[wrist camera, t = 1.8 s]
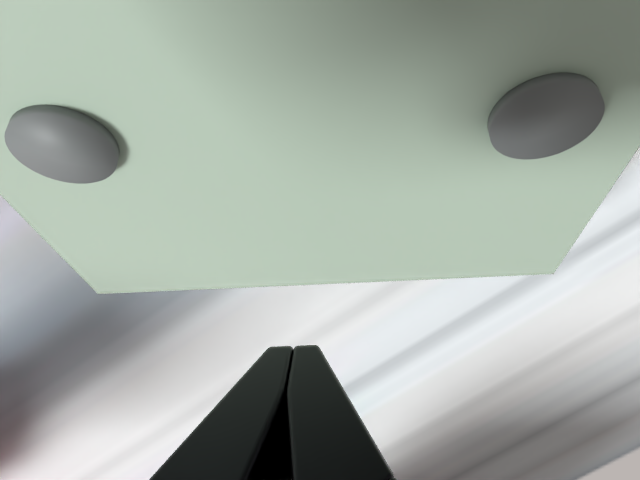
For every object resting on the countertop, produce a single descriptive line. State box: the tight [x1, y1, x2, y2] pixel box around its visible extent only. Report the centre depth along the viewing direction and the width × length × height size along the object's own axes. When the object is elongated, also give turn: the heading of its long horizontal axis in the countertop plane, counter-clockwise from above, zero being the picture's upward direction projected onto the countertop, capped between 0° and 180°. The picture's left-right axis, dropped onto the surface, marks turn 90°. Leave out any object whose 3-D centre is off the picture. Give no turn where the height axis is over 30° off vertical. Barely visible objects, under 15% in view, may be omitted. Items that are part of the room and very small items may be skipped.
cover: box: [0, 0, 640, 294], centre depth 14 cm, size 12×16×1 cm
